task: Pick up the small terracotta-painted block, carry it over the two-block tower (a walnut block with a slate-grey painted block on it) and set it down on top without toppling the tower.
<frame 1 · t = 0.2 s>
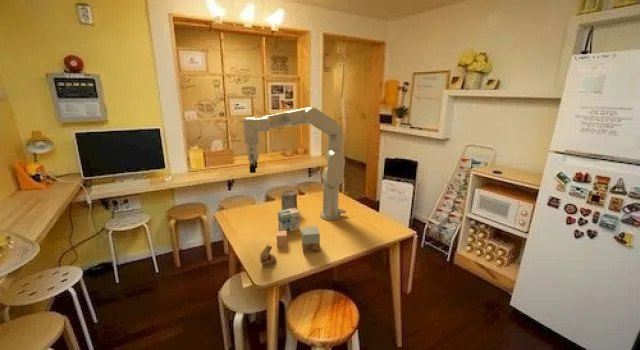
hand: (253, 170, 162), 31 cm above the table, fingers open, 9 cm apart
block: (282, 243, 145), on the table
light bulb box: (289, 229, 161), on the table
tower top: (310, 239, 140), point 5 cm above the table, touching tower base
chocolate bunny: (268, 264, 128), on the table
pillar candle: (289, 212, 182), on the table
tower base: (310, 248, 141), on the table, touching tower top
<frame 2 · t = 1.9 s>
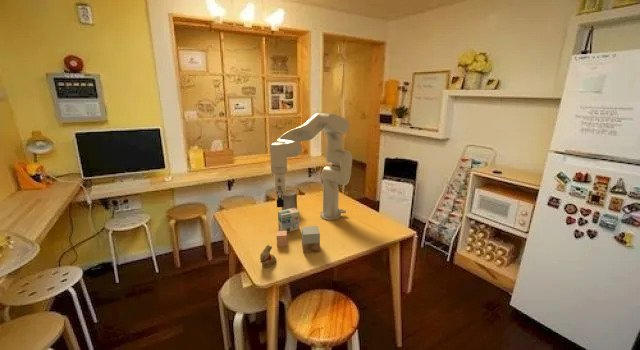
hand: (280, 203, 139), 22 cm above the table, fingers open, 9 cm apart
nothing on the table moved.
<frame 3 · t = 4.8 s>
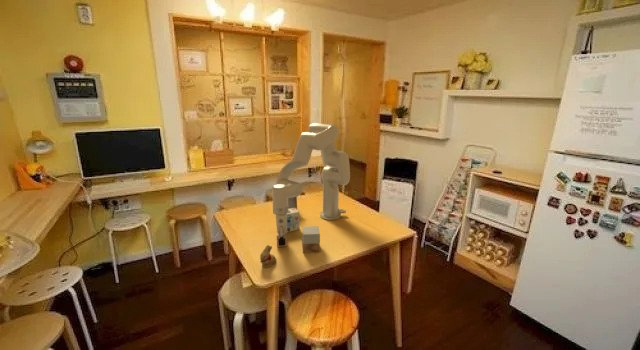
hand: (281, 242, 145), 1 cm above the table, fingers closed on block, 5 cm apart
block: (282, 243, 145), on the table, touching gripper
tower top: (311, 239, 140), point 5 cm above the table
tower base: (310, 248, 141), on the table
everything else where it was.
when the fingers open (12 cm above the table, at t = 9.8 s): block drops 1 cm, resting on tower top.
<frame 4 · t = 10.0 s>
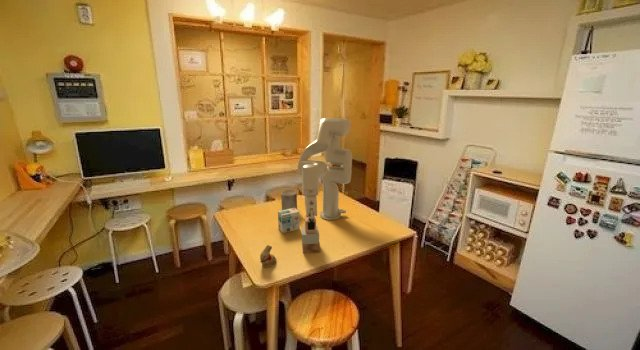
hand: (310, 225, 138), 12 cm above the table, fingers open, 7 cm apart
block: (310, 230, 139), point 10 cm above the table, touching tower top
tower top: (310, 239, 140), point 5 cm above the table, touching block, tower base
tower base: (310, 248, 141), on the table, touching tower top
everything else where it was.
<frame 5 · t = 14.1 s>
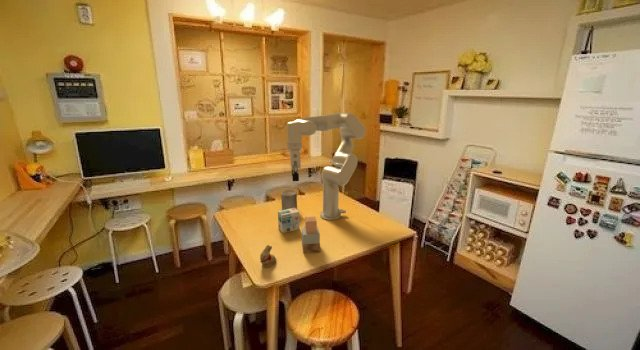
hand: (295, 178, 151), 30 cm above the table, fingers open, 9 cm apart
nothing on the table moved.
at the end: block 0.2 cm from the tower top (horizontally); block point 9.8 cm above the table; tower top tilted 0° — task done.
